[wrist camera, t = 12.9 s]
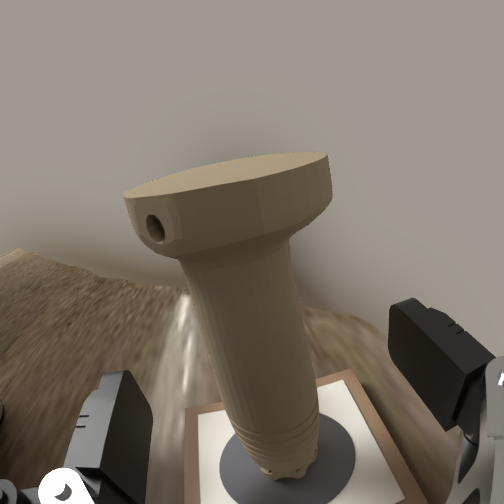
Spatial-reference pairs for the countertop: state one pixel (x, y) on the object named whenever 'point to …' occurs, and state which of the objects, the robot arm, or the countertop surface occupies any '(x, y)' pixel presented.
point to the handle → (247, 289)
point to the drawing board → (318, 473)
